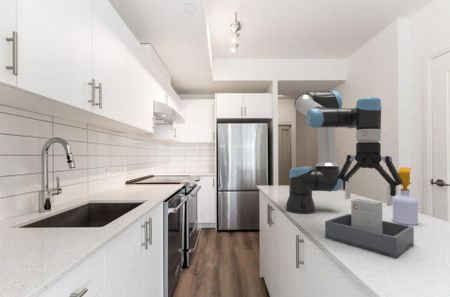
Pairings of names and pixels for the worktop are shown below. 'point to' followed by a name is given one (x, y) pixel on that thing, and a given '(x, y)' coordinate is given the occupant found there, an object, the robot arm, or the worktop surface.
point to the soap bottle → (405, 202)
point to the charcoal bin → (371, 236)
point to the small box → (366, 215)
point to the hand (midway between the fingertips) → (367, 201)
